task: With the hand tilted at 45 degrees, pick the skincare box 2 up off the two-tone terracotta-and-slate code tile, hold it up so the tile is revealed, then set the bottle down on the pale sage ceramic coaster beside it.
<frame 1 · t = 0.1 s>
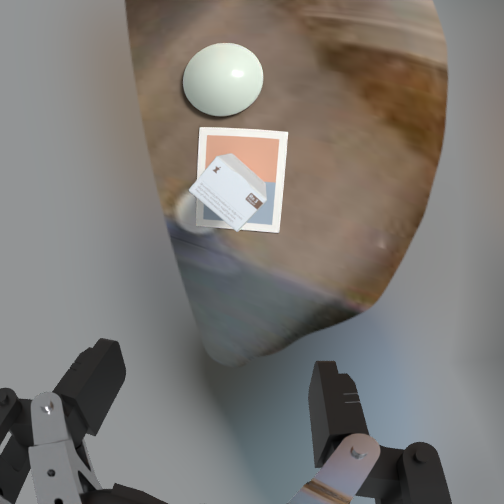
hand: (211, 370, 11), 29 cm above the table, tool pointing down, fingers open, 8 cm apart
coaster: (223, 79, 33), on the table
code tile: (240, 179, 37), on the table
skincare box 2: (240, 179, 37), resting on code tile
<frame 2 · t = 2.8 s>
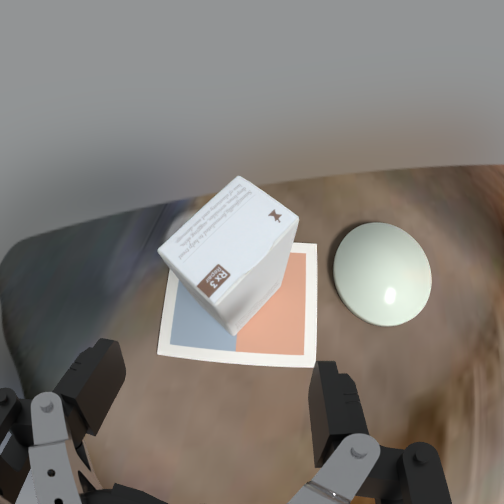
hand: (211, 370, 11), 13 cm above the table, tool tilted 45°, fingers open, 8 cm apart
coaster: (383, 273, 26), on the table
code tile: (240, 299, 25), on the table
skincare box 2: (240, 299, 25), resting on code tile
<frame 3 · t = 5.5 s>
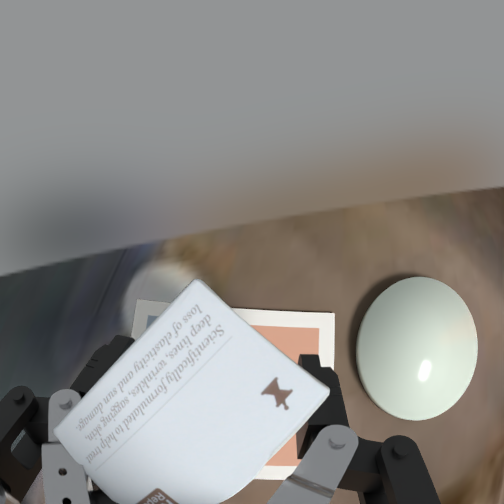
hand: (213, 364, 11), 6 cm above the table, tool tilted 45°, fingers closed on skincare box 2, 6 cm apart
coaster: (420, 348, 17), on the table
code tile: (225, 394, 17), on the table
skincare box 2: (225, 394, 17), resting on code tile, touching gripper
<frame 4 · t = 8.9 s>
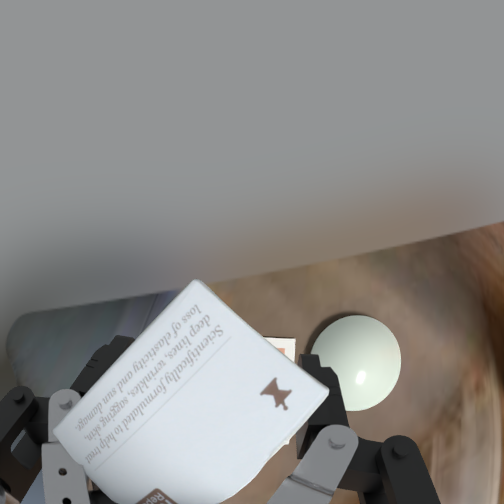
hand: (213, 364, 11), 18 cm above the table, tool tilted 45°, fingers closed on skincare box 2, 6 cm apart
coaster: (355, 363, 28), on the table
code tile: (226, 388, 27), on the table
skincare box 2: (225, 394, 17), point 12 cm above the table, touching gripper
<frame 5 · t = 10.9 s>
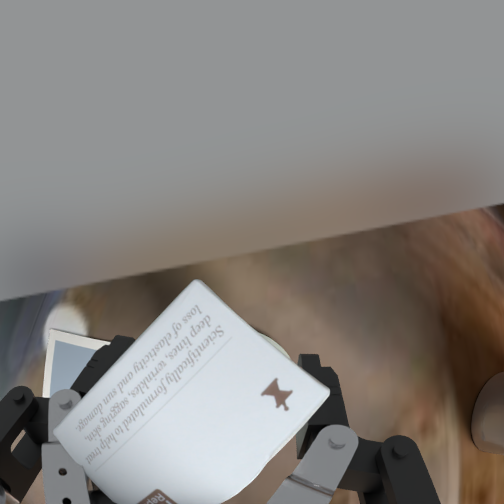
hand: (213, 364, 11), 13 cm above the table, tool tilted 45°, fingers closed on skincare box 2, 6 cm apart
code tile: (94, 396, 22), on the table
skincare box 2: (225, 394, 17), point 7 cm above the table, touching gripper
when the fingers open (8 cm above the table, at t = 12.7 s): skincare box 2 drops 1 cm, resting on coaster.
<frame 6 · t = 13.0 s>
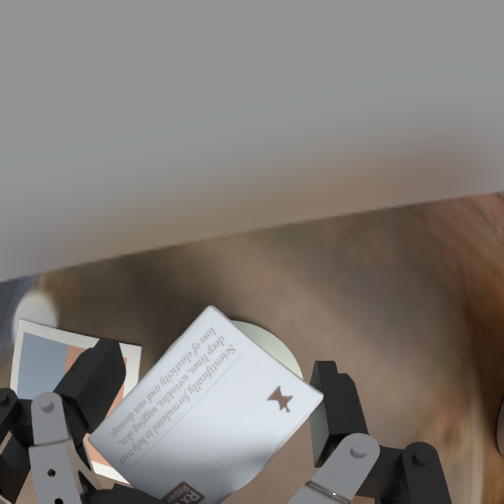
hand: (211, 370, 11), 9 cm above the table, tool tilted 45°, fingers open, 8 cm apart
coaster: (228, 393, 19), on the table
code tile: (63, 398, 18), on the table
skincare box 2: (230, 397, 18), point 1 cm above the table, touching coaster
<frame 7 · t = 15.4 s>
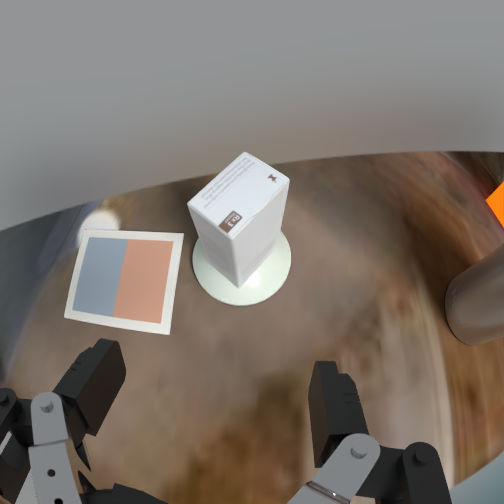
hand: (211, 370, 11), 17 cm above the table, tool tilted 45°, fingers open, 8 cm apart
coaster: (241, 259, 31), on the table
code tile: (120, 277, 30), on the table
skincare box 2: (243, 258, 31), point 1 cm above the table, touching coaster
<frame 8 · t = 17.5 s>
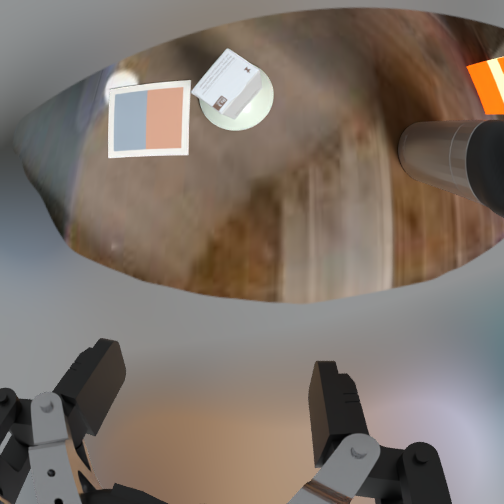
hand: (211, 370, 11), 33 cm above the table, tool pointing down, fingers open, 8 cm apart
coaster: (236, 95, 37), on the table
code tile: (146, 119, 38), on the table
orange juice: (488, 86, 32), on the table
skincare box 2: (237, 96, 36), point 1 cm above the table, touching coaster
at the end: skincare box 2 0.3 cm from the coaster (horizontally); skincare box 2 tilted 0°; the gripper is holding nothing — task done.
